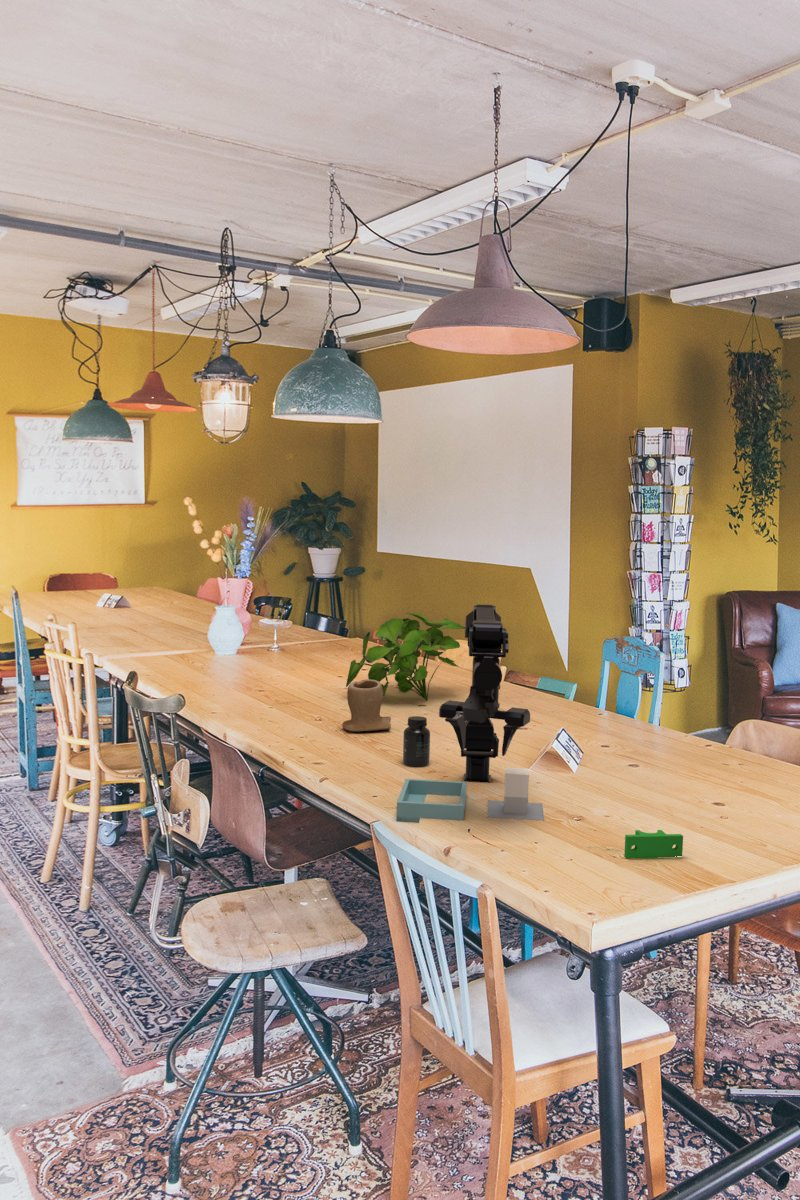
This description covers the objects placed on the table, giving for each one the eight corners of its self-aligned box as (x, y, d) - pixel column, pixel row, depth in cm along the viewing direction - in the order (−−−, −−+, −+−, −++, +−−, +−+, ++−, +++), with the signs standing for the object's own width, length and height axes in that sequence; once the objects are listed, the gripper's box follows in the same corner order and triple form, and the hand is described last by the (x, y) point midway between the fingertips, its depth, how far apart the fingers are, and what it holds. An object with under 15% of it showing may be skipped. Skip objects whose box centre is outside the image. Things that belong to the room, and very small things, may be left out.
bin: (405, 795, 224) (405, 778, 224) (466, 799, 223) (466, 782, 223) (396, 820, 207) (396, 802, 206) (462, 824, 205) (463, 806, 205)
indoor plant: (422, 698, 303) (384, 609, 307) (344, 735, 332) (311, 654, 336) (508, 665, 334) (472, 585, 338) (430, 702, 363) (399, 628, 367)
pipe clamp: (674, 852, 193) (676, 829, 192) (682, 859, 189) (683, 835, 189) (619, 852, 192) (620, 829, 191) (626, 859, 188) (627, 836, 187)
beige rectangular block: (503, 805, 216) (505, 767, 215) (526, 807, 215) (528, 768, 214) (503, 812, 211) (505, 773, 210) (527, 814, 210) (528, 775, 209)
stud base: (488, 804, 219) (488, 786, 219) (542, 807, 218) (542, 789, 218) (487, 821, 208) (487, 802, 207) (544, 825, 206) (545, 805, 206)
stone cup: (347, 736, 280) (349, 684, 278) (339, 727, 291) (340, 677, 290) (399, 734, 284) (400, 683, 282) (388, 725, 295) (389, 676, 294)
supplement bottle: (399, 761, 254) (400, 715, 253) (423, 759, 256) (425, 714, 255) (408, 768, 248) (409, 721, 247) (433, 766, 250) (434, 720, 249)
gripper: (430, 682, 204) (428, 756, 206) (517, 691, 197) (514, 767, 199) (449, 674, 214) (447, 744, 216) (532, 682, 207) (529, 755, 209)
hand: (483, 752), depth 210 cm, fingers open, 9 cm apart
